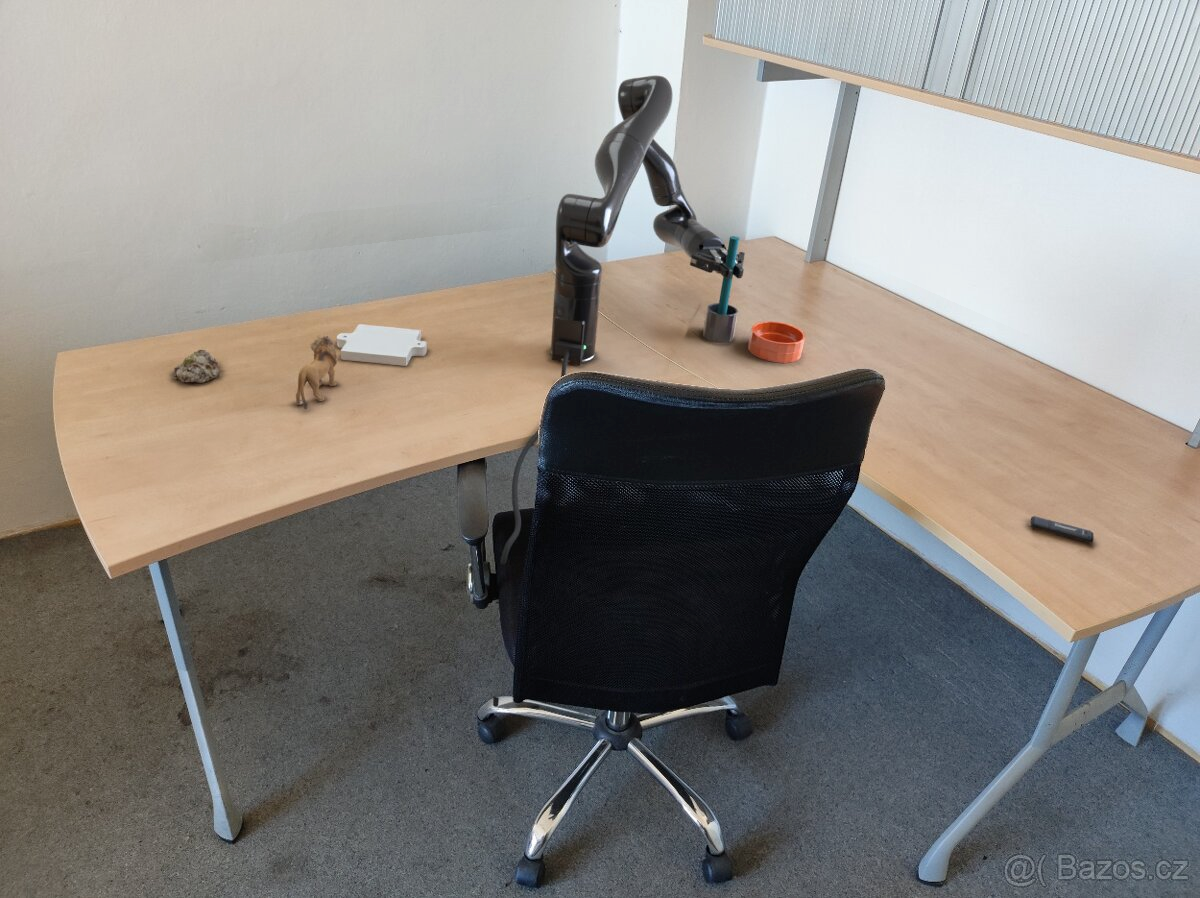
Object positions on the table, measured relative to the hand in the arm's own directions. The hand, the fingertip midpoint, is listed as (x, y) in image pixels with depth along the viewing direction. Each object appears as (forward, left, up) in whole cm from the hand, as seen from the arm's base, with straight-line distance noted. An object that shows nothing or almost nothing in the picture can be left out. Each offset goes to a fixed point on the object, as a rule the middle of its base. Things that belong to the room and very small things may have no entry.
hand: (735, 274), depth 189 cm
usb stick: (-48, -64, -16) cm, 82 cm away
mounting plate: (-36, +65, -16) cm, 76 cm away
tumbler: (+2, +2, -16) cm, 17 cm away
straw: (+3, +2, -12) cm, 12 cm away
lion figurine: (-57, +67, -16) cm, 89 cm away
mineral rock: (-60, +90, -16) cm, 109 cm away
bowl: (0, -11, -16) cm, 20 cm away
